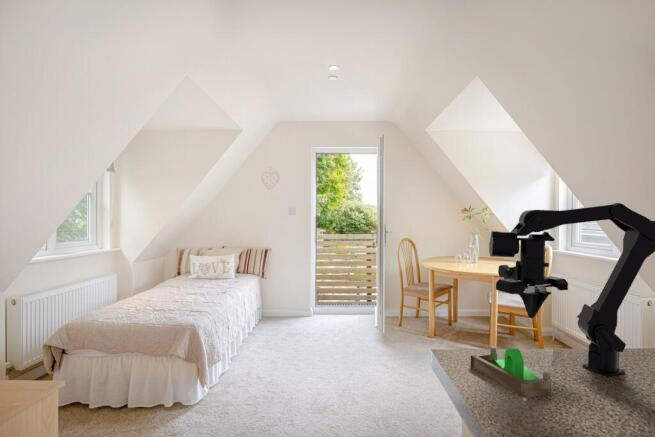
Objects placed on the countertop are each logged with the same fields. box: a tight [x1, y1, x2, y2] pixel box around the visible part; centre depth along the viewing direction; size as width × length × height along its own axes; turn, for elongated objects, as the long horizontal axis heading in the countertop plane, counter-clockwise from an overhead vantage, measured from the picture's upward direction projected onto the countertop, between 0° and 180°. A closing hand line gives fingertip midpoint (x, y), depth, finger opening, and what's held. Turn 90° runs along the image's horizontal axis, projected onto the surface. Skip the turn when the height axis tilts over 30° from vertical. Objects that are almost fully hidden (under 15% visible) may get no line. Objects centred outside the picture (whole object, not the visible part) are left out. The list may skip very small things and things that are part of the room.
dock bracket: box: [470, 346, 553, 399], centre depth 91 cm, size 7×18×4 cm, turn 18°
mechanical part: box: [494, 347, 540, 381], centre depth 93 cm, size 12×6×8 cm, turn 177°
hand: (531, 317), depth 101 cm, fingers closed
